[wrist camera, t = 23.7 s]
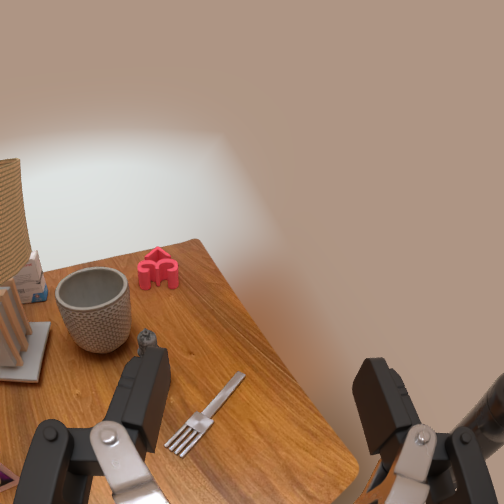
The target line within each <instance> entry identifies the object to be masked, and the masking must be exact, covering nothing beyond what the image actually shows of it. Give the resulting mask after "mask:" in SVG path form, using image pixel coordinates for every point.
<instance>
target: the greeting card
mask: <svg viewBox="0 0 504 504" xmlns="http://www.w3.org/2000/svg"><path fill="white" fill-rule="evenodd" d="M19 479H20V478H19V477H18V476H17V475H15V474H14V473H13V472H11V471H10V470H9V469H7V468H6V467H5V466H4V465H2V464H1V463H0V492H2V491H5V490H7V489H9V488H11V487H14V486H16V485H18V483H19Z"/></svg>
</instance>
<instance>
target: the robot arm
mask: <svg viewBox="0 0 504 504" xmlns="http://www.w3.org/2000/svg"><path fill="white" fill-rule="evenodd" d="M170 380H171V372H170V365H169V358H168V351H167V349H166V348H161V347H154V346H147V348H146V350H145V353H144V356H143V358H141V357H135V356H134V357H133V358H132V359H131V360H130V361H129V362H128V363H127V364H126V365H125V367H124V370H123V372H122V375H121V377H120V380H119V382H118V386H117V387H116V390H115V392H114V395H113V398H112V400H111V403H110V406H109V408H108V411H107V414H106V416H105V418H104V419H103V421H102V422H100V423H98V424H96V425H95V426H94V427H91V428H66V427H65V425H64V424H63V423H62V422H60V421H58V420H55V419H48V420H45V421H43V422H41V423H40V424H39V425H38V427H37V429H36V431H35V434H34V437H33V439H32V442H31V445H30V448H29V451H28V453H27V456H26V459H25V463H24V466H23V469H22V472H21V476H20V479H19V483H18V486H17V490H16V494H15V498H14V502H13V504H88V500H89V494H90V489H91V484H92V479H93V476H105V477H106V479H107V481H108V483H109V485H110V487H111V490H112V492H113V494H112V496H113V499H114V502H115V504H171V503H170V502H169V500H168V499H167V498H166V496H165V495H164V493H163V492H162V490H161V489H160V487H159V485H158V484H157V482H156V481H155V479H154V477H153V476H152V474H151V473H150V471H149V469H148V467H147V466H146V464H145V462H144V461H145V456H146V452H150V453H155V448H156V444H157V439H158V434H159V430H160V425H161V421H162V417H163V412H164V408H165V404H166V400H167V395H168V391H169V387H170ZM352 391H353V396H354V399H355V402H356V406H357V409H358V412H359V416H360V420H361V423H362V426H363V430H364V434H365V437H366V441H367V444H368V448H369V452H370V455H375V454H380V455H381V458H380V460H379V461H378V463H377V465H376V467H375V469H374V471H373V473H372V475H371V477H370V479H369V481H368V483H367V485H366V487H365V489H364V490H363V492H362V494H361V495H360V497H359V498H358V499H357V500H356V501H355V502H354V503H353V504H424V503H425V502H426V504H498V501H497V497H496V494H495V490H494V487H493V484H492V480H491V477H490V474H489V471H488V468H487V466H486V462H485V460H486V459H487V458H489V457H490V456H491V455H492V454H493V453H495V452H496V451H497V450H498V449H499V448H501V447H502V446H503V445H504V373H503V374H501V375H500V376H499V377H498V378H497V379H496V381H495V382H494V383H493V384H492V386H491V387H490V388H489V389H488V391H487V392H486V393H485V394H484V396H483V397H482V398H481V399H480V400H479V402H478V403H477V404H476V405H475V406H474V408H473V409H472V410H471V411H470V412H469V413H468V414H467V415H466V416H465V417H464V418H463V420H462V421H461V422H460V423H459V424H458V425H457V426H456V427H455V428H454V429H453V430H452V431H451V432H450V433H435V431H434V430H433V429H432V428H431V427H429V426H428V425H425V424H422V423H421V422H420V419H419V417H418V415H417V413H416V410H415V408H414V406H413V403H412V401H411V399H410V396H409V395H408V392H407V390H406V388H405V385H404V383H403V381H402V379H401V377H400V376H399V374H397V372H396V371H395V370H393V369H389V368H388V365H387V363H386V361H385V359H384V358H382V357H381V358H366V359H365V360H364V362H363V364H362V366H361V368H360V370H359V372H358V374H357V375H356V377H355V379H354V382H353V387H352ZM456 482H457V491H455V488H454V483H456Z"/></svg>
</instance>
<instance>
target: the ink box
mask: <svg viewBox="0 0 504 504" xmlns="http://www.w3.org/2000/svg"><path fill="white" fill-rule="evenodd" d="M12 278H14V281H15V285H16V288H17V291H18V294H19V297H20V300H21V303H22V304H23V303H32V302H41V301H46V299H47V294H48V289H47V285H46V282H45V279H44V275H43V271H42V268H41V264H40V260H39V255H38V251H32V252H31V255H30V258H29V262H28V263H27V264H26V265H25V266H24V267H23V268H22V269H21V270H20V271H19V273H18V274H16V275H15V276H13V277H12Z"/></svg>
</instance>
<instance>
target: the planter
mask: <svg viewBox="0 0 504 504" xmlns="http://www.w3.org/2000/svg"><path fill="white" fill-rule="evenodd" d="M55 298H56V303H57V306H58V308H59V311H60V313H61V316H62V318H63V321H64V323H65V325H66V327H67V330H68V332H69V334H70V335H71V337H72V339H73V340H74V341H75V343H76V344H77V345H78V346H80V347H81V348H82V349H84V350H86V351H89V352H93V353H100V354H106V353H110V352H112V351H114V350H115V349H117V348H118V347H120V346H121V345H122V344H123V343H124V342H125V341H126V340H127V338H128V336H129V334H130V330H131V303H130V290H129V284H128V280H127V278H126V276H125V275H124V274H123V273H121V272H120V271H118V270H115V269H112V268H108V267H90V268H85V269H81V270H78V271H75V272H73V273H71V274H69V275H68V276H66V277H65V278H64V279H62V280H61V282H60V283H59V284H58V286H57V287H56V290H55Z"/></svg>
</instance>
